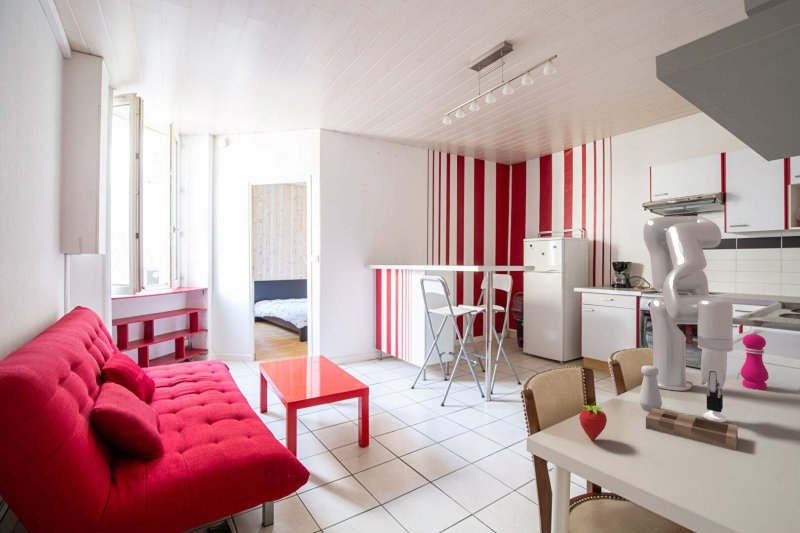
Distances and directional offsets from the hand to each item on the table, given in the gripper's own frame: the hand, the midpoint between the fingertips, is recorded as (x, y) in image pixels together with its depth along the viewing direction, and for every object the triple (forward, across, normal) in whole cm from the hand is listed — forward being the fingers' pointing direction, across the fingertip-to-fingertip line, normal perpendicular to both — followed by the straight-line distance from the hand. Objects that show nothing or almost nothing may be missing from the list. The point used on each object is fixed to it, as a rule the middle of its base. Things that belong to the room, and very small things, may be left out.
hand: (714, 408), depth 107 cm
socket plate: (+3, +14, -4) cm, 15 cm away
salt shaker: (+3, +3, -15) cm, 15 cm away
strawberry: (+3, +36, -21) cm, 41 cm away
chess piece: (+3, 0, 0) cm, 3 cm away
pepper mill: (+4, -44, +7) cm, 45 cm away
